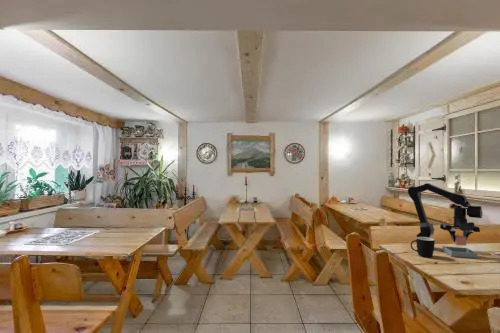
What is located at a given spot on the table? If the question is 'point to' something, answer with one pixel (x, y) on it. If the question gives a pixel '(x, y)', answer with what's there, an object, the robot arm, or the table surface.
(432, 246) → the mug
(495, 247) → the table surface
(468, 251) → the tray
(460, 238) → the red block
